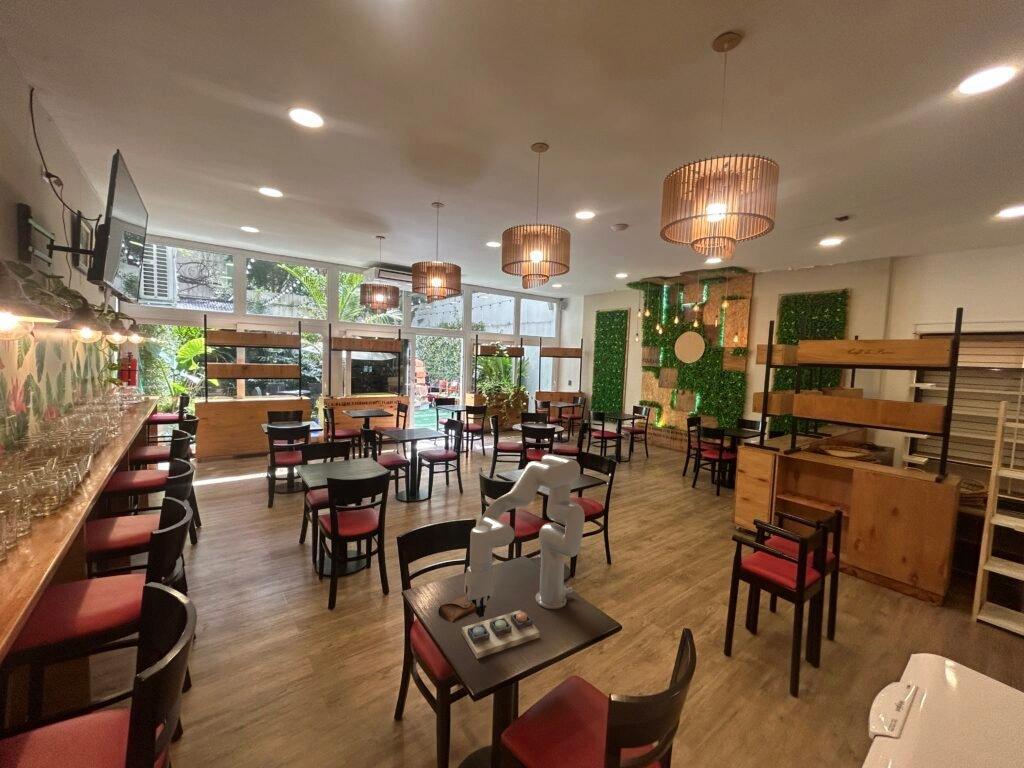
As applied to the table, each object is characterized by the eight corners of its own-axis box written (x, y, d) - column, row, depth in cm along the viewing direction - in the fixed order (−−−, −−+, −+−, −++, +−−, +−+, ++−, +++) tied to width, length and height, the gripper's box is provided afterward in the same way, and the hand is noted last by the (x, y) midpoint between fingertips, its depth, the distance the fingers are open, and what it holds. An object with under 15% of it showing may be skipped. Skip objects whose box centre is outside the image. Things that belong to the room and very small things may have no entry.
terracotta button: (523, 616, 154) (523, 611, 153) (528, 622, 150) (529, 617, 150) (514, 619, 152) (514, 613, 152) (519, 625, 148) (519, 620, 148)
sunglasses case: (450, 624, 152) (445, 605, 154) (441, 625, 157) (436, 606, 159) (488, 605, 164) (483, 587, 166) (478, 607, 169) (474, 590, 171)
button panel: (520, 614, 159) (520, 604, 159) (539, 637, 147) (539, 626, 146) (461, 632, 148) (461, 622, 147) (476, 658, 135) (477, 647, 135)
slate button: (481, 630, 146) (481, 625, 145) (486, 637, 142) (486, 632, 142) (470, 634, 144) (471, 628, 144) (475, 641, 140) (475, 635, 140)
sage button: (503, 624, 150) (503, 618, 149) (508, 630, 146) (508, 625, 146) (493, 627, 148) (493, 621, 148) (497, 634, 144) (498, 628, 144)
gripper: (495, 554, 148) (494, 603, 149) (456, 563, 141) (455, 614, 142) (505, 563, 141) (504, 615, 143) (464, 573, 134) (463, 627, 136)
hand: (479, 614), depth 143 cm, fingers closed
